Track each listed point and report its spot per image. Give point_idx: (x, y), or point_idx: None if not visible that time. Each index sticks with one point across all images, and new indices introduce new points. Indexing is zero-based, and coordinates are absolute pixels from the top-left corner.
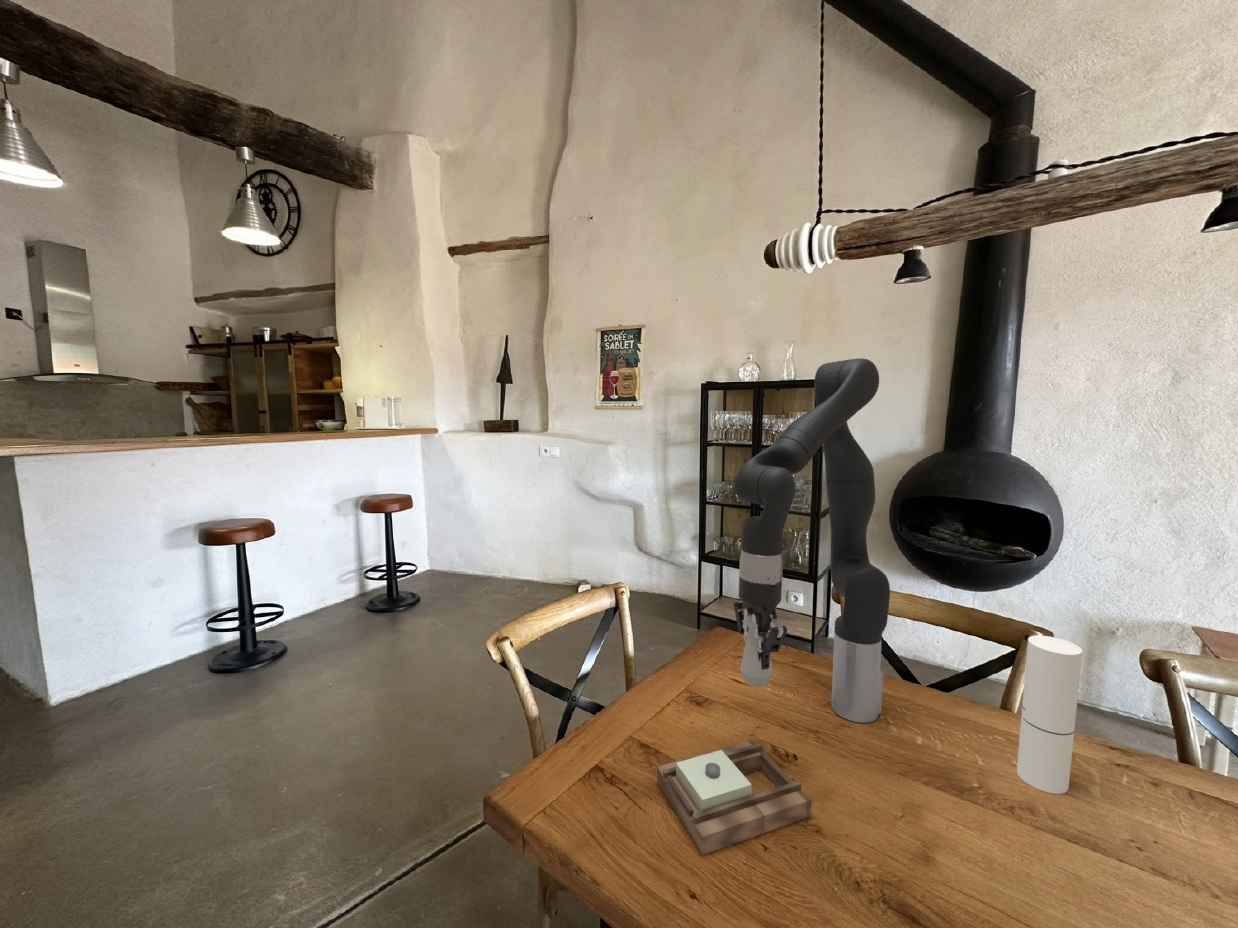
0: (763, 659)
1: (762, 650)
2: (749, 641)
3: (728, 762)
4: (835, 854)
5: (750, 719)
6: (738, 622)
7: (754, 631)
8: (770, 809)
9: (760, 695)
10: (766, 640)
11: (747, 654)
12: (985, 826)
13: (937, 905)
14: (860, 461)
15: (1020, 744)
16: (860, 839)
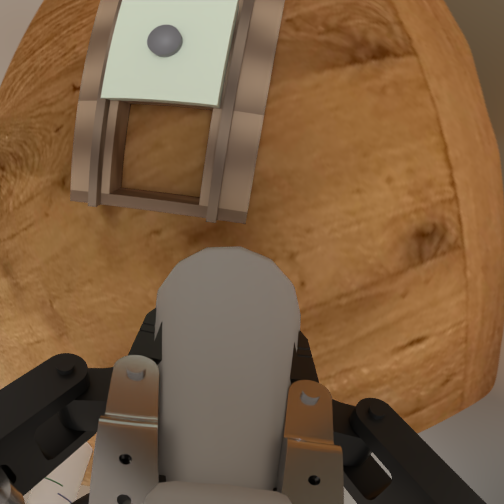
0: (135, 342)
1: (114, 370)
2: (220, 382)
3: (174, 92)
4: (31, 174)
5: (327, 288)
6: (411, 450)
7: (149, 464)
8: (82, 118)
9: (363, 349)
10: (25, 417)
11: (222, 312)
12: (29, 358)
13: None
14: None
15: (72, 463)
16: (37, 225)
